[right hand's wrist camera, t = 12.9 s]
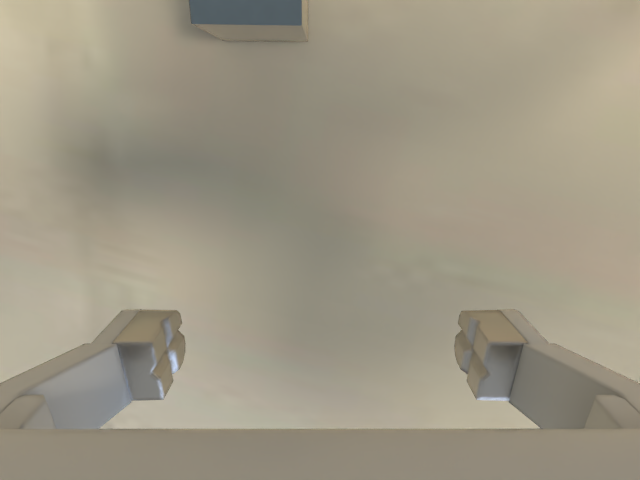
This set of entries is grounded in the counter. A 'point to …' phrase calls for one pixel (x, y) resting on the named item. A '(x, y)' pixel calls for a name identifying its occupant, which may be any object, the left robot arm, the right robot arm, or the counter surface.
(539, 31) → the counter surface
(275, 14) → the block
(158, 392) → the right robot arm
